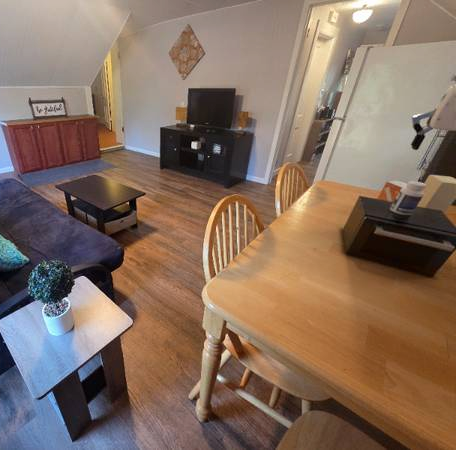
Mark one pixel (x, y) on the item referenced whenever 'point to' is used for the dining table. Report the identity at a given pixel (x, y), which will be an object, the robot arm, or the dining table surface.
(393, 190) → the small box
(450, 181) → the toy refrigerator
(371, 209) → the oven
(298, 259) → the dining table surface
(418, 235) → the oven door
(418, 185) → the pill bottle
